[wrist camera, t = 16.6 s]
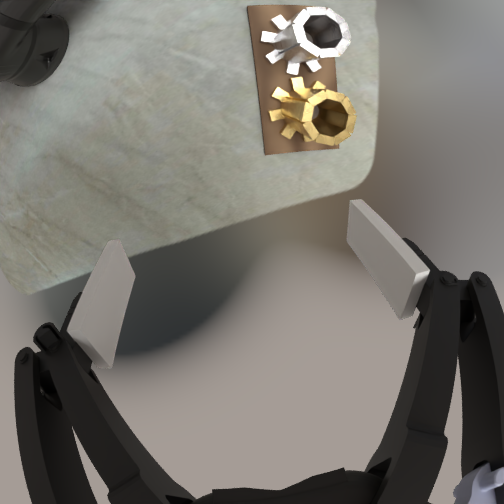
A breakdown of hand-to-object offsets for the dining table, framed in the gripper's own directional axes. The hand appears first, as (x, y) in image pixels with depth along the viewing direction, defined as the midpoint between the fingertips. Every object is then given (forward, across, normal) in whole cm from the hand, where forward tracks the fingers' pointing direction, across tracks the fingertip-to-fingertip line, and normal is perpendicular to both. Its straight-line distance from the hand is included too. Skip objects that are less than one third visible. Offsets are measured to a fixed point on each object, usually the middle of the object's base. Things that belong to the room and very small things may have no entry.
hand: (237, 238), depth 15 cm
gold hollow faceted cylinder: (+34, +14, +3) cm, 37 cm away
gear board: (+35, +14, +9) cm, 38 cm away
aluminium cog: (+34, +14, +15) cm, 40 cm away
